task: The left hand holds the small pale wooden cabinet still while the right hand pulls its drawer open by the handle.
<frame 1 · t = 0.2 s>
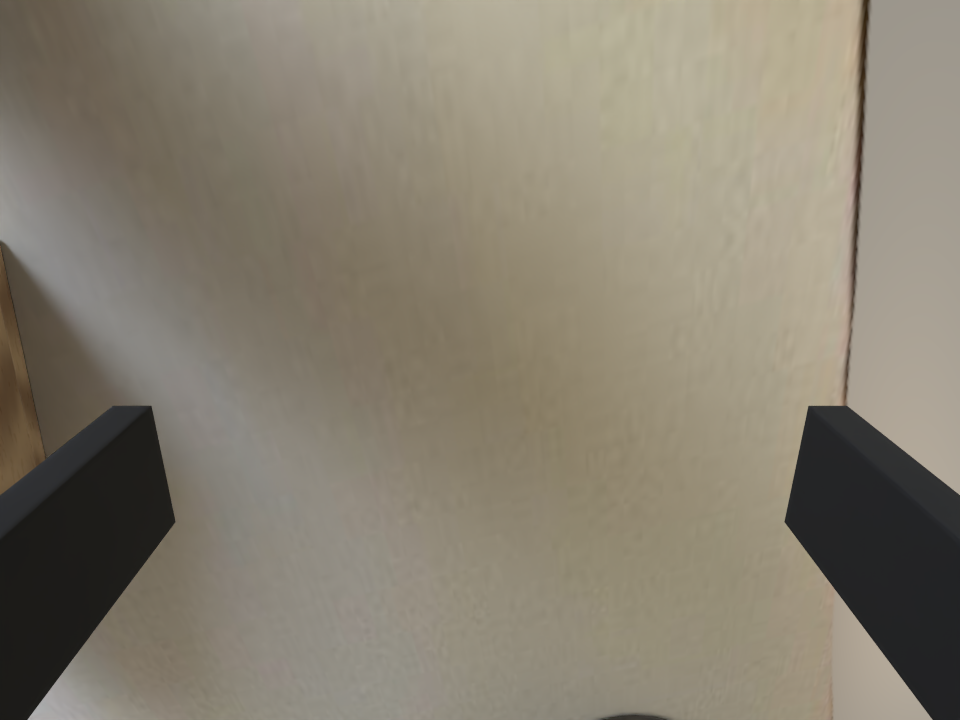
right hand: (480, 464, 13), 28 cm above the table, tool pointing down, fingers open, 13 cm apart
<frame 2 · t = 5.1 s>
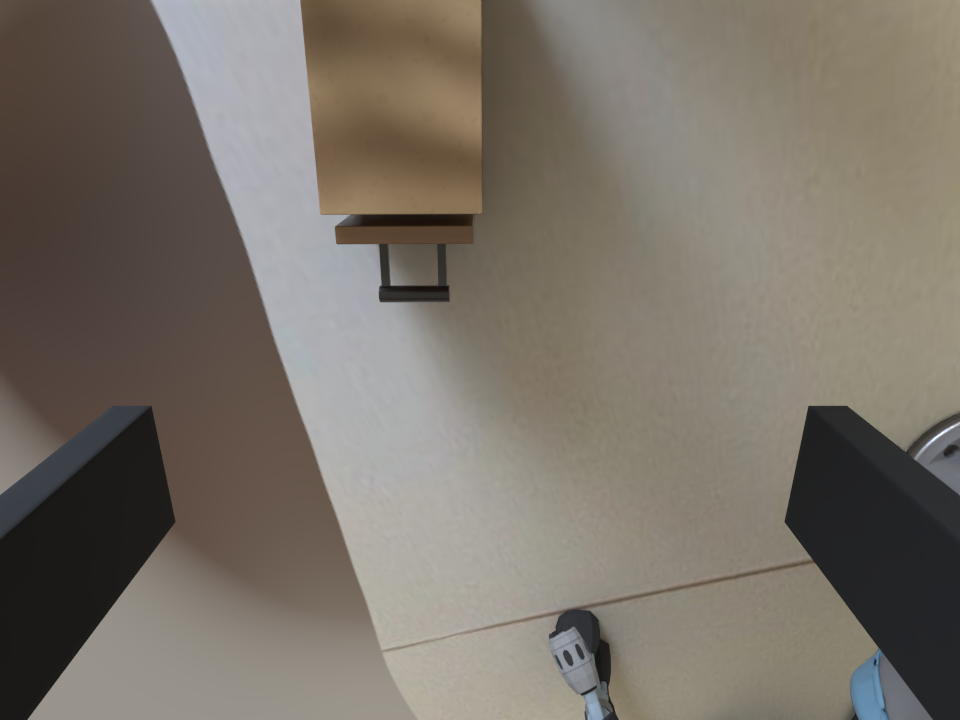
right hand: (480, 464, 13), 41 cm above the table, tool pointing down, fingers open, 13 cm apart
robot: (583, 636, 67), on the table
drawer: (407, 142, 44), point 6 cm above the table, slide at 0.9 cm
cabinet: (412, 62, 47), on the table, touching left hand
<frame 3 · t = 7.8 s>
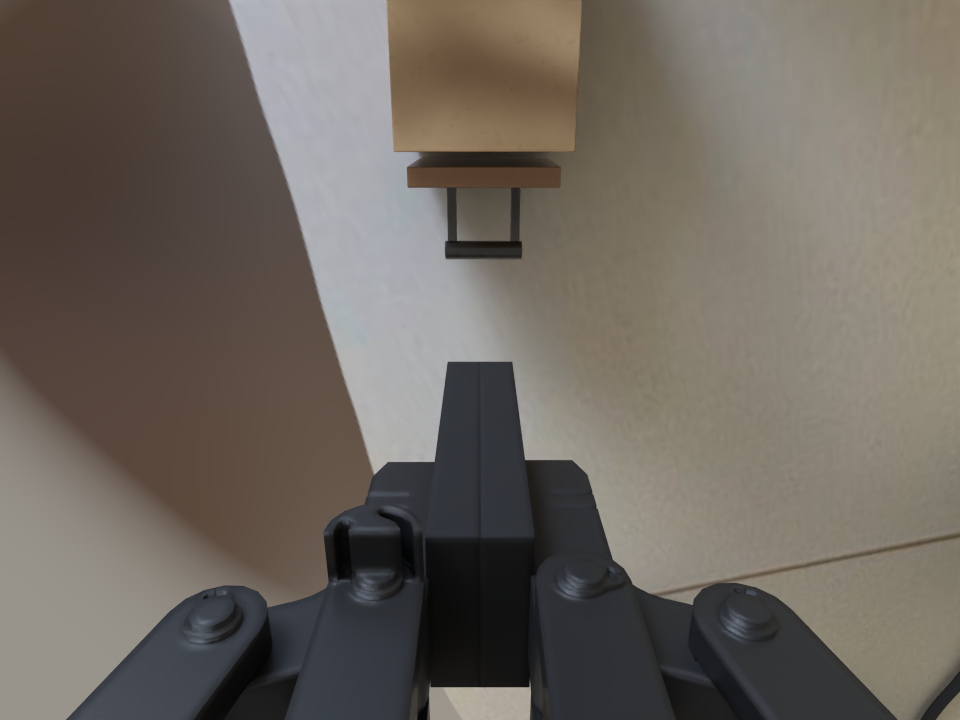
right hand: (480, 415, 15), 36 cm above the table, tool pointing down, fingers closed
drawer: (483, 78, 40), point 6 cm above the table, slide at 0.9 cm
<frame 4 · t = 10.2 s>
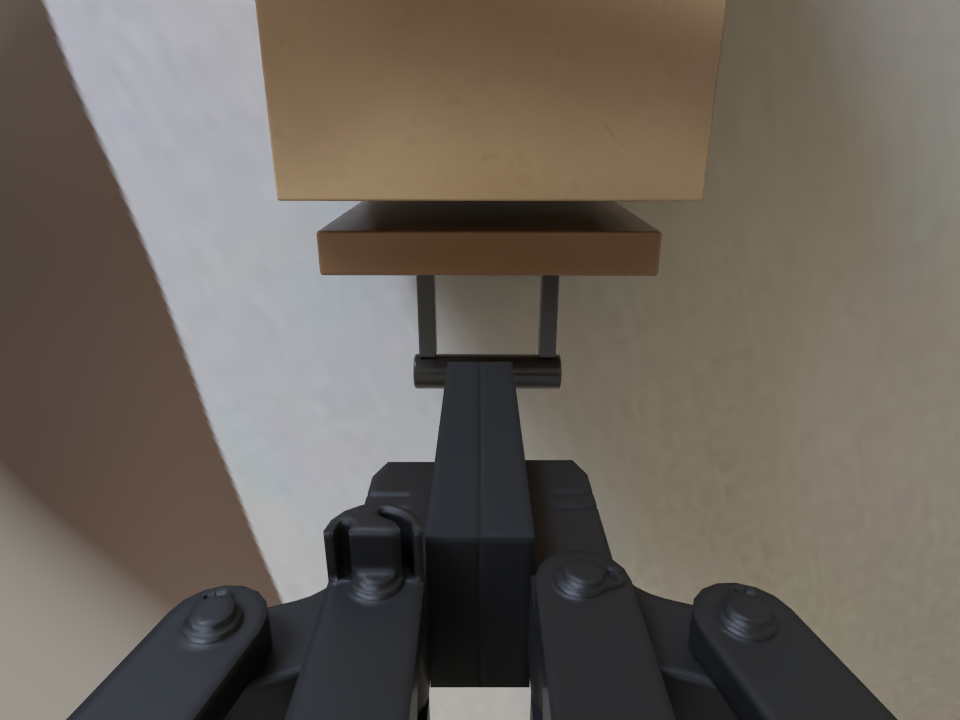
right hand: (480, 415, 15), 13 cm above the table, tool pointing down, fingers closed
drawer: (488, 38, 19), point 6 cm above the table, slide at 0.9 cm
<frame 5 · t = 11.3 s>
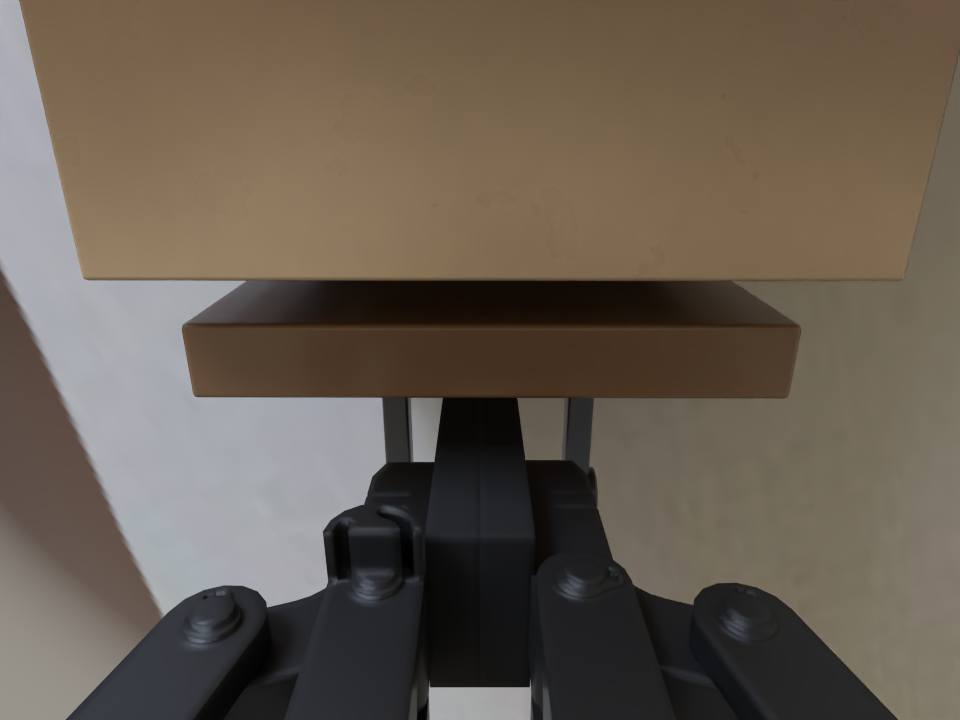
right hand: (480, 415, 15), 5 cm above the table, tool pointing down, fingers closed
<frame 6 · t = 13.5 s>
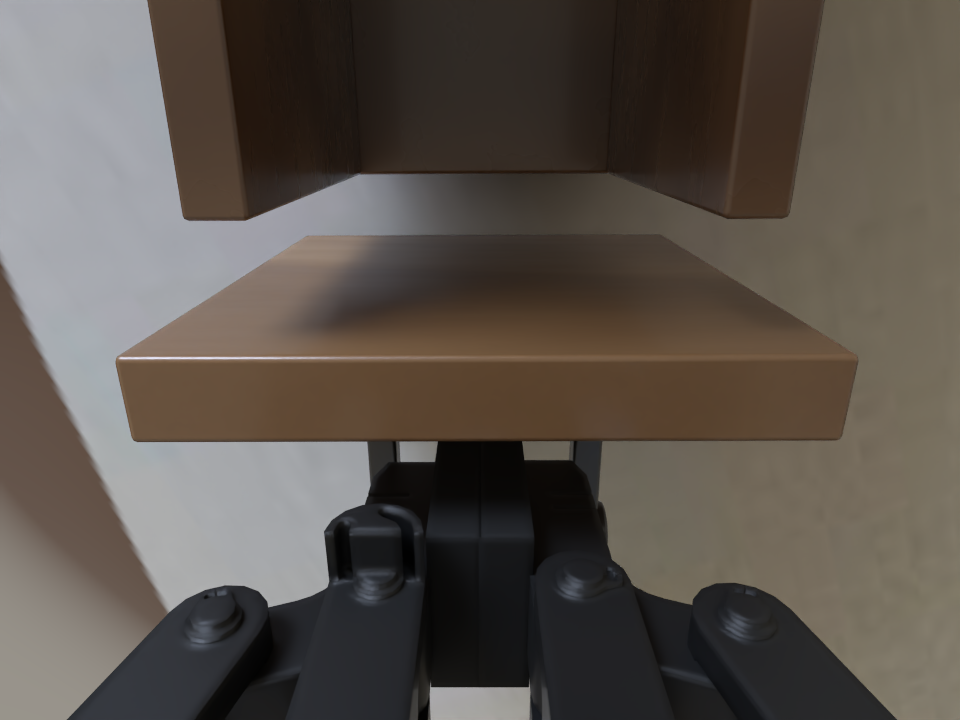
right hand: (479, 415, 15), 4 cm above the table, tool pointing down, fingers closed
when the left hand's fingers open (6 cm above the table, at t = 15.5 s): cabinet stays where it is, on the table.
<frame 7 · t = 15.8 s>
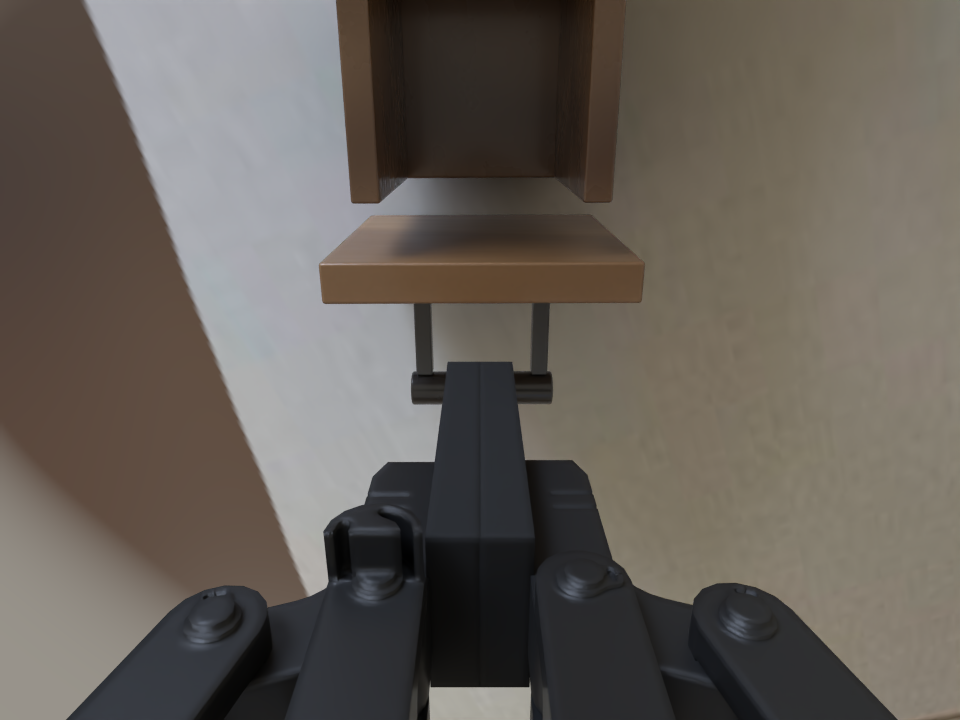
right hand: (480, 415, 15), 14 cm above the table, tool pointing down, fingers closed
drawer: (481, 75, 20), point 6 cm above the table, slide at 8.2 cm
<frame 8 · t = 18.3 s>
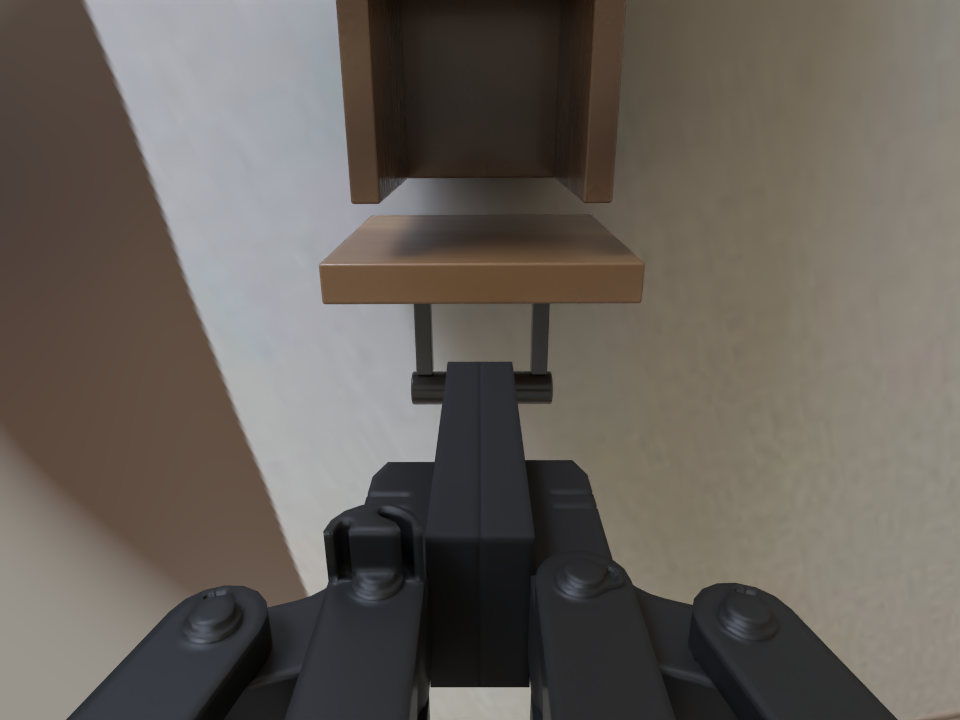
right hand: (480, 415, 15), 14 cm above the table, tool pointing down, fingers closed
drawer: (481, 75, 20), point 6 cm above the table, slide at 8.2 cm
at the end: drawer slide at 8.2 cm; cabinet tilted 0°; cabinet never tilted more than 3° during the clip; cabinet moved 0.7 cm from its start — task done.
